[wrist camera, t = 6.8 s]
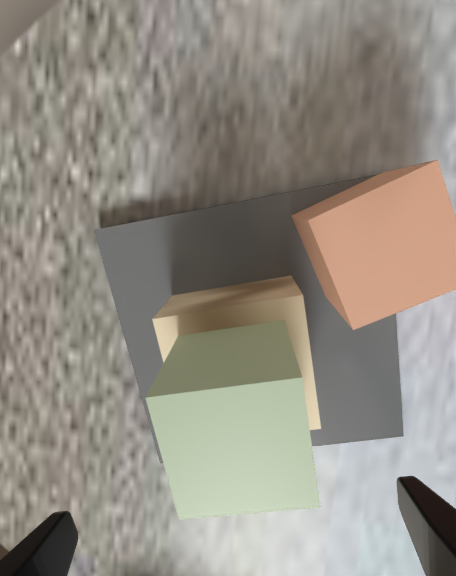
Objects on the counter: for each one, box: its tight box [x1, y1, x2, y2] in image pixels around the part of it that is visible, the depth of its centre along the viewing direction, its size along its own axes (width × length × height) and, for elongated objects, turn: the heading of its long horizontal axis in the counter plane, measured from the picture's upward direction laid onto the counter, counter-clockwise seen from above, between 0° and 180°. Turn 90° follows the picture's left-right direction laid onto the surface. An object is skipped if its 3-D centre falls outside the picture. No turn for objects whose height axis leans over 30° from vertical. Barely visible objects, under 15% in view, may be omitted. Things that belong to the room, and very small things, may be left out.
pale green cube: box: [146, 320, 320, 520], centre depth 13 cm, size 5×5×5 cm
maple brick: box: [152, 276, 321, 430], centre depth 17 cm, size 7×7×4 cm
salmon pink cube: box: [292, 160, 456, 330], centre depth 15 cm, size 5×5×5 cm
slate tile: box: [94, 175, 403, 463], centre depth 20 cm, size 16×16×1 cm
